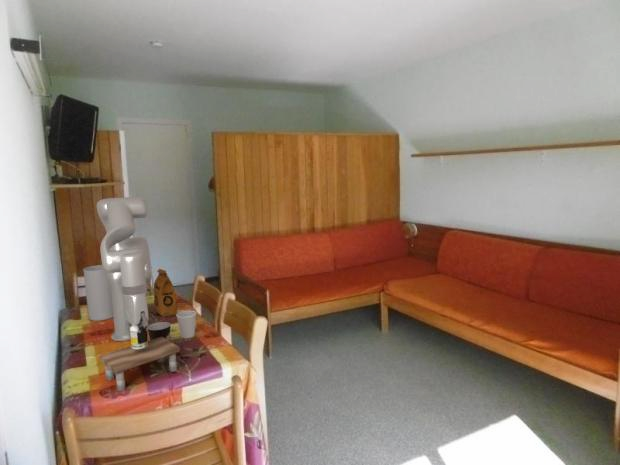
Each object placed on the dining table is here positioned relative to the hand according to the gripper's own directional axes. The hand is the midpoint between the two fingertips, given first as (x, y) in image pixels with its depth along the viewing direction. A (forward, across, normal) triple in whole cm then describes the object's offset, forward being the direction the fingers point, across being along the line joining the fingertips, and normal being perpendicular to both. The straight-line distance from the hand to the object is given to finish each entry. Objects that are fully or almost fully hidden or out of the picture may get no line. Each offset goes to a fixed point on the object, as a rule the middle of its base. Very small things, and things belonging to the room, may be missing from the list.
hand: (139, 339), depth 142 cm
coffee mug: (+13, -15, +15) cm, 25 cm away
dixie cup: (+13, -20, +28) cm, 37 cm away
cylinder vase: (+13, -74, +11) cm, 76 cm away
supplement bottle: (+3, 0, 0) cm, 3 cm away
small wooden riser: (+13, 0, 0) cm, 13 cm away
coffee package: (+13, -55, +35) cm, 66 cm away
